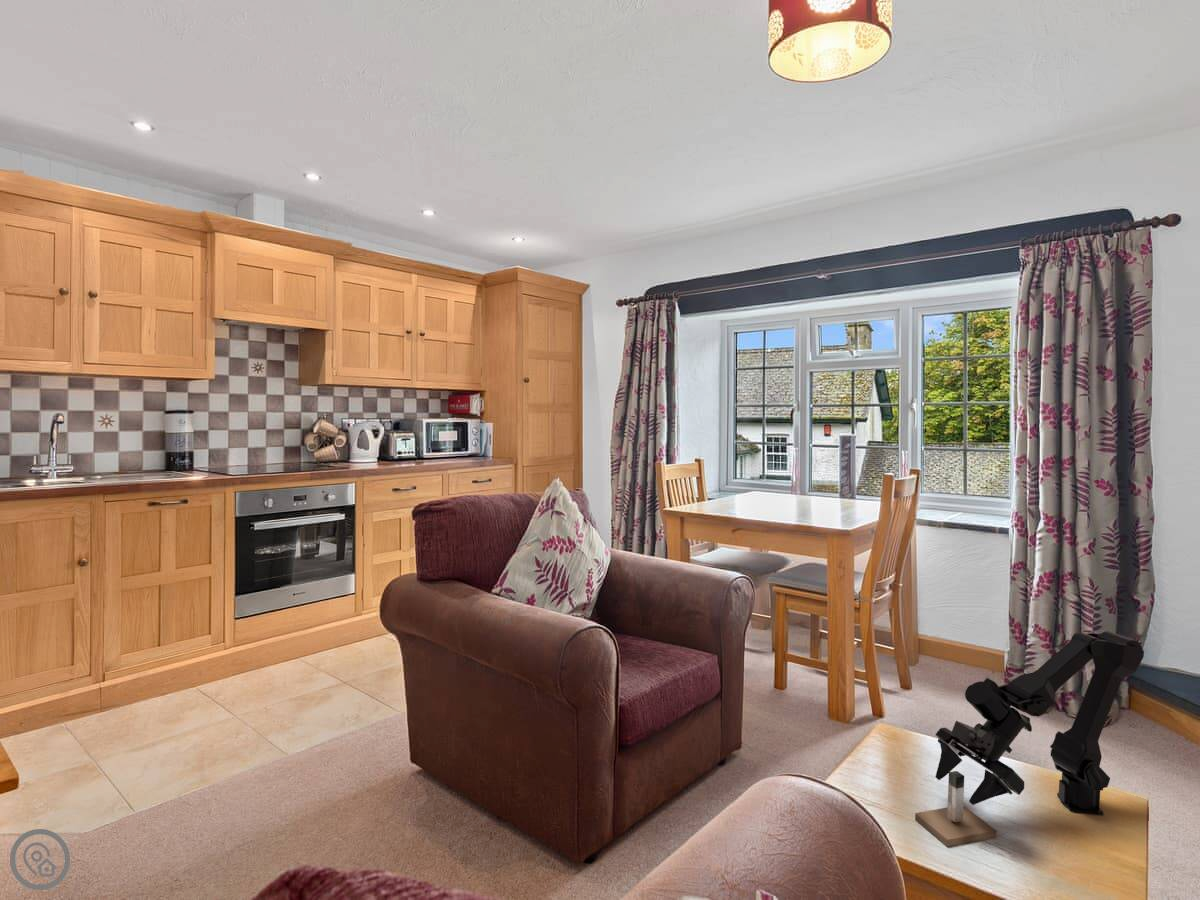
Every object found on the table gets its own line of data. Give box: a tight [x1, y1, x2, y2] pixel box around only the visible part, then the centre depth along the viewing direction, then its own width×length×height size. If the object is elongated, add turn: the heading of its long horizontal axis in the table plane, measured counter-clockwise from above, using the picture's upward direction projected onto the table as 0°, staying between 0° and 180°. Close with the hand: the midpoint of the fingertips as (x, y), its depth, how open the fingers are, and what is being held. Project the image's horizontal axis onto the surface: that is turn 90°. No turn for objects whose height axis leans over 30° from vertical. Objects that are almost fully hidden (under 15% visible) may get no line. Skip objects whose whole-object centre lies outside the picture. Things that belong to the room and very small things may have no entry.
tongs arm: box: [951, 772, 965, 822], centre depth 137 cm, size 2×1×10 cm, turn 105°
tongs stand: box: [914, 770, 998, 848], centre depth 138 cm, size 12×9×12 cm
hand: (953, 790), depth 139 cm, fingers open, 9 cm apart
